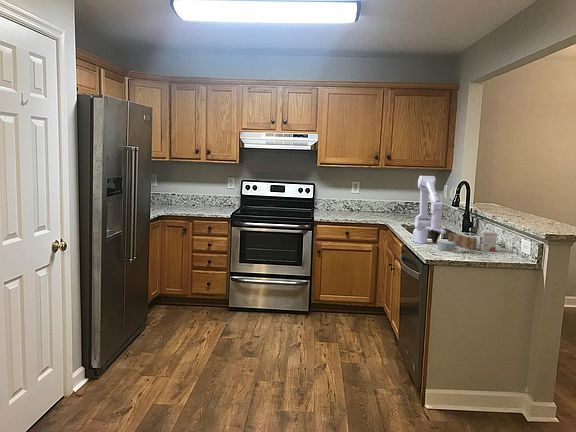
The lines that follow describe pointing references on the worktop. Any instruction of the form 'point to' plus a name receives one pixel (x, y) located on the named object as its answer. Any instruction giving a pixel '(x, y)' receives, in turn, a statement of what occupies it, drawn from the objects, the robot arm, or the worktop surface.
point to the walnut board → (463, 241)
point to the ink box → (487, 241)
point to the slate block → (447, 245)
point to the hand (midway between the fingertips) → (434, 243)
